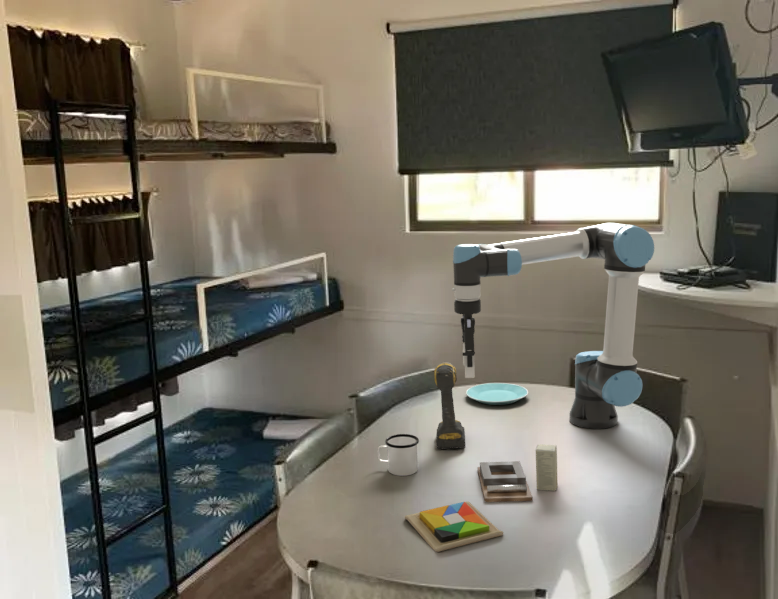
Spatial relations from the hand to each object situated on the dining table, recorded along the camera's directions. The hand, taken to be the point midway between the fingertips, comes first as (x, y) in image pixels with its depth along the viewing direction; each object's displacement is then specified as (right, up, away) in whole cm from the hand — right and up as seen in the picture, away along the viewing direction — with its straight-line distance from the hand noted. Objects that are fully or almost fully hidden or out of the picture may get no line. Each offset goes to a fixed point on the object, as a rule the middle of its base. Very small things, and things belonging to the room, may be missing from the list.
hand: (468, 371), depth 223 cm
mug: (-20, -28, -6) cm, 35 cm away
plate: (+16, -15, +54) cm, 58 cm away
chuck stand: (+7, -29, -19) cm, 35 cm away
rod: (+7, -30, -25) cm, 39 cm away
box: (+18, -29, -21) cm, 40 cm away
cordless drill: (-4, -23, +15) cm, 28 cm away
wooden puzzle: (-8, -34, -41) cm, 54 cm away
